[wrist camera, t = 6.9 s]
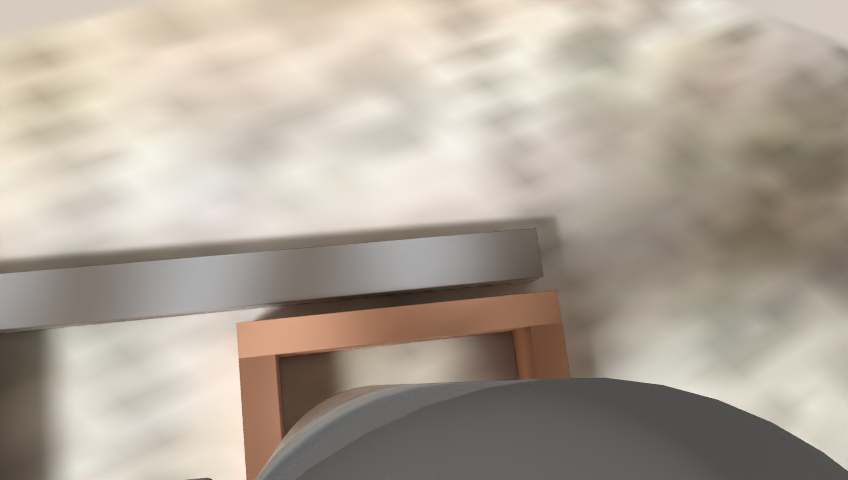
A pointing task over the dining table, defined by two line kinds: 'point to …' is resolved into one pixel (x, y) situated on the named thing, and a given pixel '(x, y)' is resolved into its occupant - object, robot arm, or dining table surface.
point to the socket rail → (307, 283)
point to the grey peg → (539, 435)
